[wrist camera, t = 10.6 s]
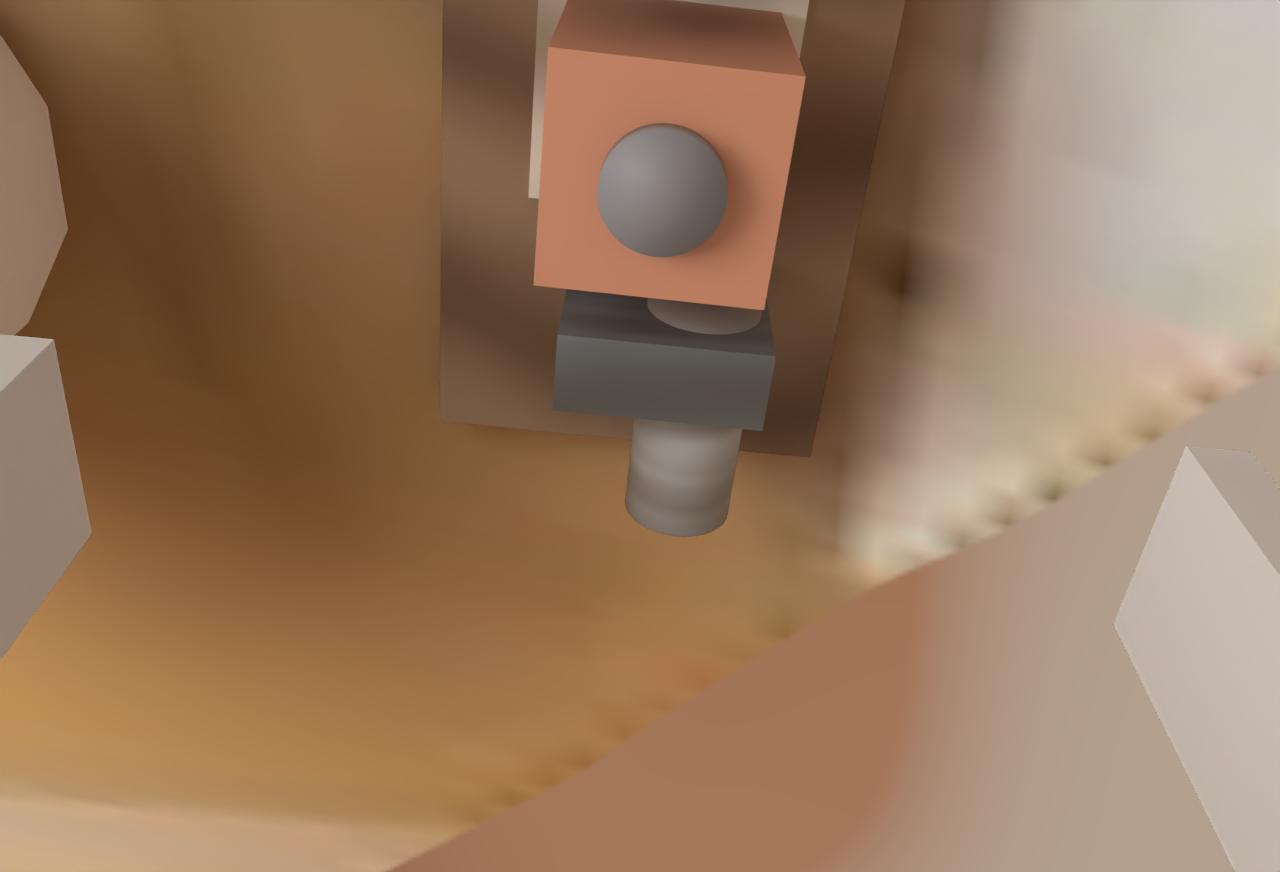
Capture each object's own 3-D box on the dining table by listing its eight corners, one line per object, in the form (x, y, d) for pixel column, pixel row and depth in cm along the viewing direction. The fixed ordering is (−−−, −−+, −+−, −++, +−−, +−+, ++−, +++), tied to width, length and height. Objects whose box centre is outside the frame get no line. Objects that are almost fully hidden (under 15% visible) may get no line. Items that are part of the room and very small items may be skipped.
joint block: (557, 190, 30) (530, 297, 24) (572, -13, 27) (545, 54, 21) (748, 211, 30) (766, 322, 24) (781, 12, 27) (809, 85, 22)
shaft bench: (456, -414, 24) (388, -459, 19) (967, -353, 25) (1055, -380, 19) (446, 400, 35) (401, 532, 29) (806, 436, 35) (831, 573, 29)
